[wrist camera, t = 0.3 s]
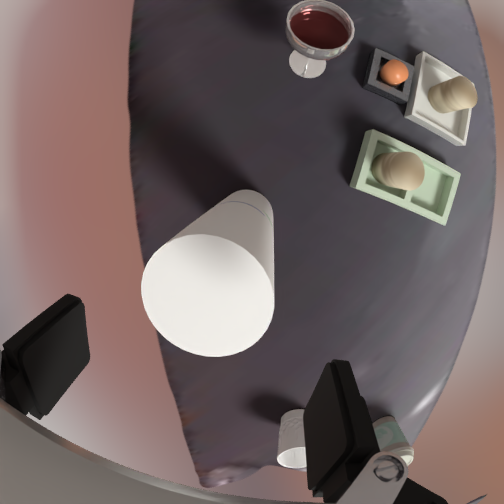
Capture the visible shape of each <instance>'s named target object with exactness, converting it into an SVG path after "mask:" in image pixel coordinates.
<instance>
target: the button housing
mask: <svg viewBox="0 0 504 504" xmlns="http://www.w3.org/2000/svg"><path fill="white" fill-rule="evenodd" d="M392 59H396V60H399V61H401V62H402V63H403V64H404V65H405V66H406V67H407V69H408V78H407V79H406V80H405V81H403V82H402V83H400V84H398V85H396V86H390V85H387V84H386V83H385V82H384V81H383V80H382V79H381V77H380V69H381V67H382V66H384V65H385V64H386V63H387V62H388V61H390V60H392ZM413 72H414V66H413V65H411V64H409V63H407V62H405V61H403V60H401V59H399V58H397V57H395V56H393V55H390V54H388V53H386V52H384V51H382V50H380V49H377V48H375V49H374V50H373V51H372V52H371V53H370V57H369V61H368V65H367V70H366V74H365V78H364V82H363V86H362V88H364V89H366V90H368V91H371V92H373V93H375V94H378V95H380V96H382V97H384V98H387V99H389V100H391V101H393V102H395V103H397V104H399V105H401V104H404V103H406V102H408V98H409V93H410V88H411V83H412V77H413Z"/></svg>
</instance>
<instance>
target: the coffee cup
mask: <svg viewBox="0 0 504 504" xmlns="http://www.w3.org/2000/svg"><path fill="white" fill-rule="evenodd" d="M372 425H373V428H374V431H375V435H376V438H377V441H378V445H379V448H380V452H385V451H386V452H392V453H395V454H397V455H399V456H400V457H402V458H403V460H404V461H405V462H406V464H407V466H408V465H409V464H410V463H411V462H412V461H413V455H414V452H413V451H414V450H413V448H412V447H410V445H409V443H408V441H407V440H406V438H405V436H404V434H403V432H402V431H401V429H400V427H399V425H398V424H397V422H396V420H395V418H394V417H391V416H387V417H383V418H380V419H378V420H376V421H375V422H374V423H373V424H372Z"/></svg>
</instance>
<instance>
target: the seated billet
mask: <svg viewBox="0 0 504 504" xmlns="http://www.w3.org/2000/svg"><path fill="white" fill-rule="evenodd" d="M371 170H372V175H373V177H374V178H375V180H376V181H377V182H378V183H380V184H382V185H386V186H390V187H395V188H399V189H403V190H408V191H411V190H415V189H417V188H418V187H419V186H420V185H421V184H422V182H423V180H424V176H425V169H424V165H423V162H422V160H421V159H420V158H419V157H418V156H417V155H416V154H414V153H412V152H392V153H381V154H379V155H377V156H376V157H375V158H374V160H373V162H372V166H371Z"/></svg>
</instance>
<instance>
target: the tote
mask: <svg viewBox="0 0 504 504" xmlns="http://www.w3.org/2000/svg"><path fill="white" fill-rule="evenodd" d="M457 76H462V75H461V74H459V73H458V72H456V71H455V70H453V69H452V68H450V67H449V66H447V65H446V64H444V63H442V62H441V61H439V60H437V59H436V58H434V57H432V56H431V55H429V54H427V53H425V52H424V51H423V52H421V53H420V54H418V55H417V56H416V58H415V65H414V72H413V77H412V83H411V88H410V93H409V98H408V102H407V106H406V111H405V115H404V117H405V118H407V119H409V120H411V121H413V122H415V123H417V124H419V125H421V126H423V127H425V128H426V129H428V130H430V131H432V132H434V133H435V134H437V135H439V136H441V137H442V138H444V139H446V140H447V141H449V142H451V143H452V144H454V145H456V146H465V144H466V139H467V134H468V128H469V123H470V116H471V109H472V108H467V109H462V110H458V111H453V112H448V113H439V112H437V111H436V110H434V109H433V107H432V106H431V104H430V102H429V100H428V91H429V89H430V88H431V87H432V86H435V85H437V84H439V83H442V82H444V81H447V80H449V79H452V78H454V77H457ZM471 83H472V82H471ZM472 84H473V83H472ZM473 85H474V84H473Z"/></svg>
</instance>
